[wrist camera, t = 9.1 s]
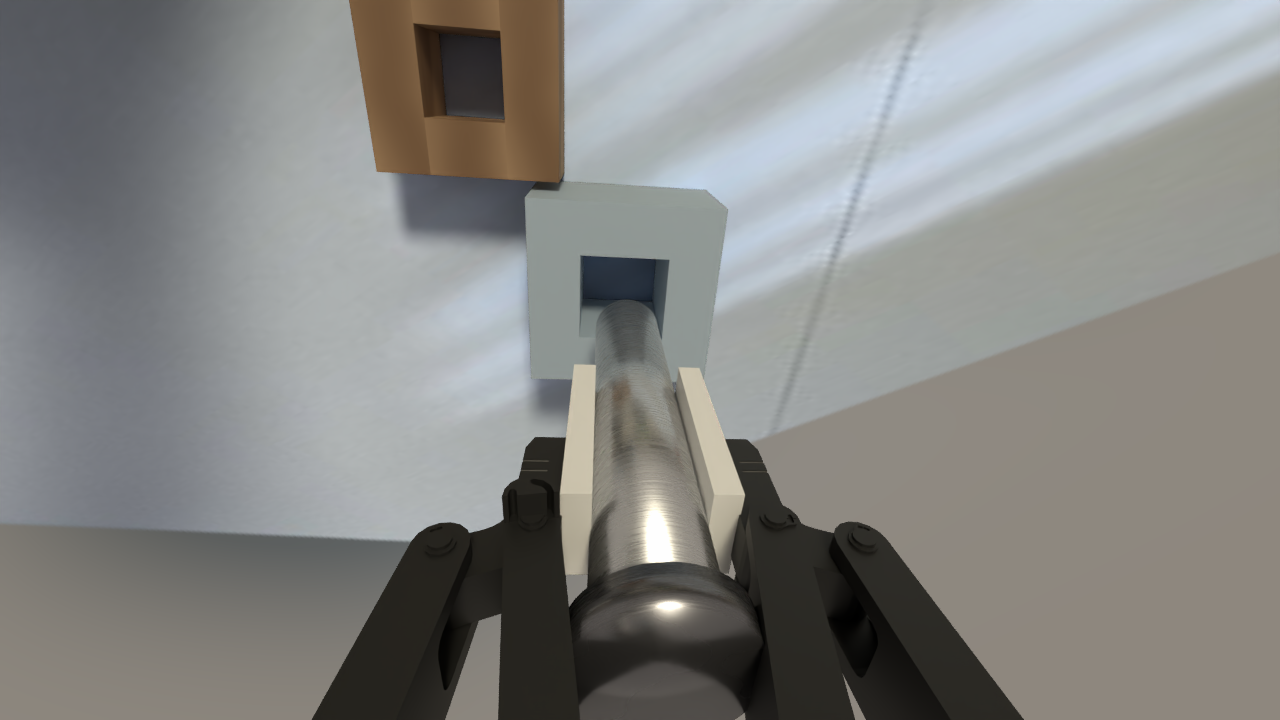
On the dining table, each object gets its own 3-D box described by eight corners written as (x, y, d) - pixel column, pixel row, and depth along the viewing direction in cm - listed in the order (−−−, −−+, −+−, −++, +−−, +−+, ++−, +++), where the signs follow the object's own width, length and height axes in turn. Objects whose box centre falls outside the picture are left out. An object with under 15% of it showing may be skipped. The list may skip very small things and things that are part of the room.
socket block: (542, 335, 34) (531, 378, 29) (538, 179, 30) (524, 197, 24) (687, 339, 35) (703, 382, 30) (706, 190, 30) (728, 209, 25)
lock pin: (584, 363, 25) (557, 745, 10) (586, 287, 24) (556, 610, 8) (663, 366, 26) (751, 738, 10) (670, 291, 24) (790, 607, 9)
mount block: (404, 162, 29) (376, 171, 25) (377, -35, 25) (339, -57, 21) (564, 172, 29) (559, 182, 26) (564, -17, 25) (557, -36, 22)
